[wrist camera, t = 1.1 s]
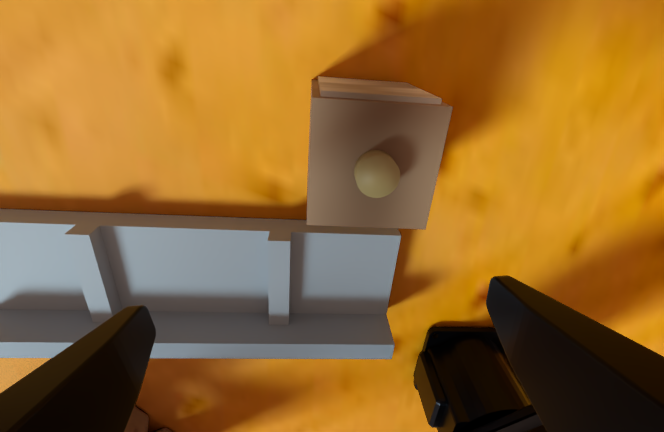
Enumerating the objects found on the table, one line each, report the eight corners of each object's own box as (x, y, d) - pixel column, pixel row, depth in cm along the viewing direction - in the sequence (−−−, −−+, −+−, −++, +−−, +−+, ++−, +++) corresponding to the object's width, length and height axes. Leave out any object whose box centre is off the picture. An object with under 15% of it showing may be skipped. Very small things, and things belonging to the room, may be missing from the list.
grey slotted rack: (395, 223, 21) (412, 260, 17) (379, 312, 24) (391, 359, 21) (-28, 207, 19) (-106, 246, 15) (17, 306, 22) (-39, 357, 19)
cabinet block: (410, 82, 17) (463, 105, 11) (394, 178, 20) (431, 239, 14) (311, 74, 17) (312, 94, 11) (307, 173, 19) (306, 235, 13)
